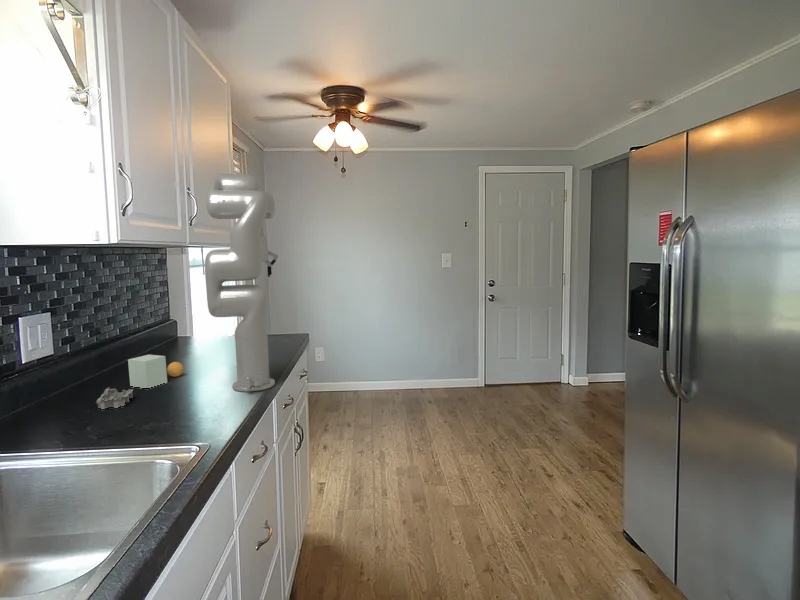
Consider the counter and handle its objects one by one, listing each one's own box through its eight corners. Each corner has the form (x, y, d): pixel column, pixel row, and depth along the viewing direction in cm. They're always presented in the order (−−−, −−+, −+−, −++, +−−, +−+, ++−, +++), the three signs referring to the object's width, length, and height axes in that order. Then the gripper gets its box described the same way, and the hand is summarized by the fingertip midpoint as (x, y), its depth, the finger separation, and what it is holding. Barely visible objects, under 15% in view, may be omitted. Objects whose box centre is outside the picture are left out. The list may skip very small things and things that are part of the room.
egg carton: (109, 400, 143) (108, 386, 142) (137, 398, 144) (136, 384, 144) (93, 412, 132) (91, 397, 132) (123, 409, 134) (121, 395, 133)
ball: (182, 377, 164) (181, 363, 164) (166, 379, 163) (165, 364, 163) (185, 374, 169) (184, 359, 168) (169, 375, 168) (168, 360, 167)
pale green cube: (147, 389, 152) (144, 361, 151) (130, 386, 155) (127, 359, 154) (167, 382, 158) (165, 356, 157) (150, 380, 161) (148, 354, 160)
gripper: (229, 233, 185) (232, 278, 187) (276, 232, 189) (278, 277, 191) (231, 233, 192) (234, 277, 194) (276, 233, 196) (279, 275, 198)
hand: (256, 277), depth 192 cm, fingers open, 9 cm apart
